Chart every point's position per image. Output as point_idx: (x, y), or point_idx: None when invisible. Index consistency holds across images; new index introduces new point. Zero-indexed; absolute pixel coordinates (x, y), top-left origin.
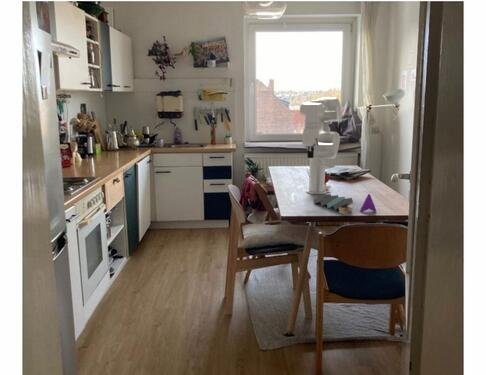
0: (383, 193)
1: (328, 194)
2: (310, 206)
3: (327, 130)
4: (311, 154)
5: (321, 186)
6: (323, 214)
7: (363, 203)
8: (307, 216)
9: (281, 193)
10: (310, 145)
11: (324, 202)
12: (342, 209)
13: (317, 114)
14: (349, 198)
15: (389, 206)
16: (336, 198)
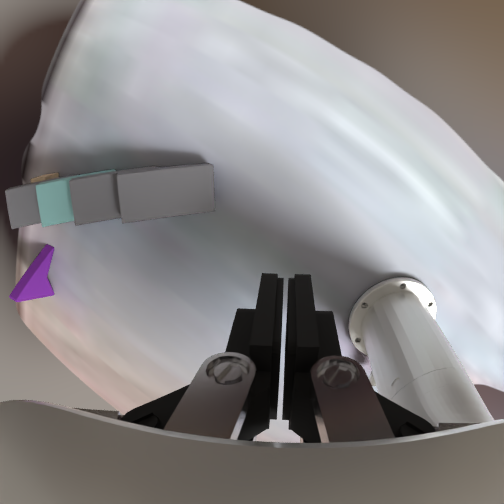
0: None
1: (120, 208)
2: (172, 116)
3: None
4: (232, 335)
5: (366, 340)
6: (59, 104)
7: (36, 270)
8: (64, 39)
9: (469, 163)
10: (43, 409)
11: (126, 170)
12: (35, 177)
13: None
14: (9, 216)
15: (94, 365)
16: (40, 184)
